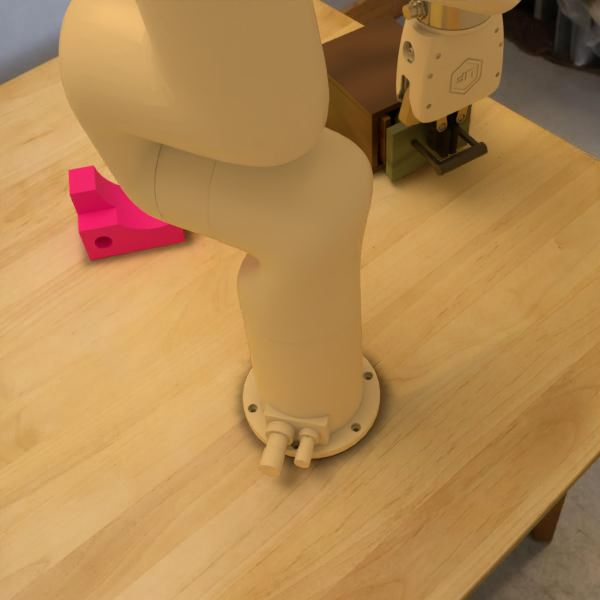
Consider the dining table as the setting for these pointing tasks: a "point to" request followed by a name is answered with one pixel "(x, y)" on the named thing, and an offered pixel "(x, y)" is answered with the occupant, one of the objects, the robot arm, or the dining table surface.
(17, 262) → the dining table surface
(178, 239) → the toy block
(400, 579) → the dining table surface
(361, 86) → the cabinet
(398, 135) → the drawer
